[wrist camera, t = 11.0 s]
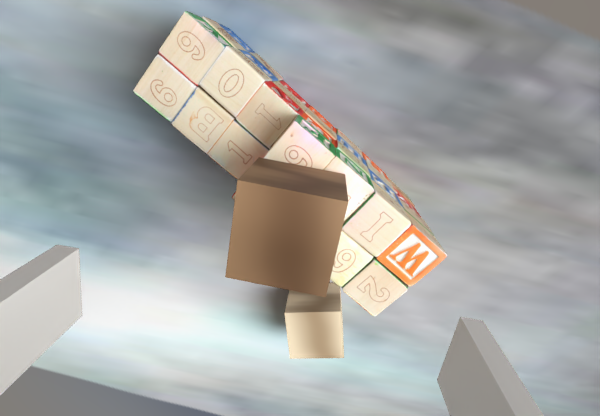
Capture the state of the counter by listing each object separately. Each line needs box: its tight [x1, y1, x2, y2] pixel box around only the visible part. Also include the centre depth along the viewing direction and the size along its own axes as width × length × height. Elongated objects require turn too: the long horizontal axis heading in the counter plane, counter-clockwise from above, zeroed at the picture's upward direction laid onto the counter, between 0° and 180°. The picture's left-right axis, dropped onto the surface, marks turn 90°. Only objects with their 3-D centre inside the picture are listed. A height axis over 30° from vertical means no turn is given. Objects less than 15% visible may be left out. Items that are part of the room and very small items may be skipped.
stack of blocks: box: [133, 11, 447, 316], centre depth 27 cm, size 21×6×12 cm, turn 48°
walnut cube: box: [225, 157, 348, 297], centre depth 20 cm, size 5×5×5 cm
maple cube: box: [284, 283, 344, 359], centre depth 36 cm, size 5×5×5 cm
